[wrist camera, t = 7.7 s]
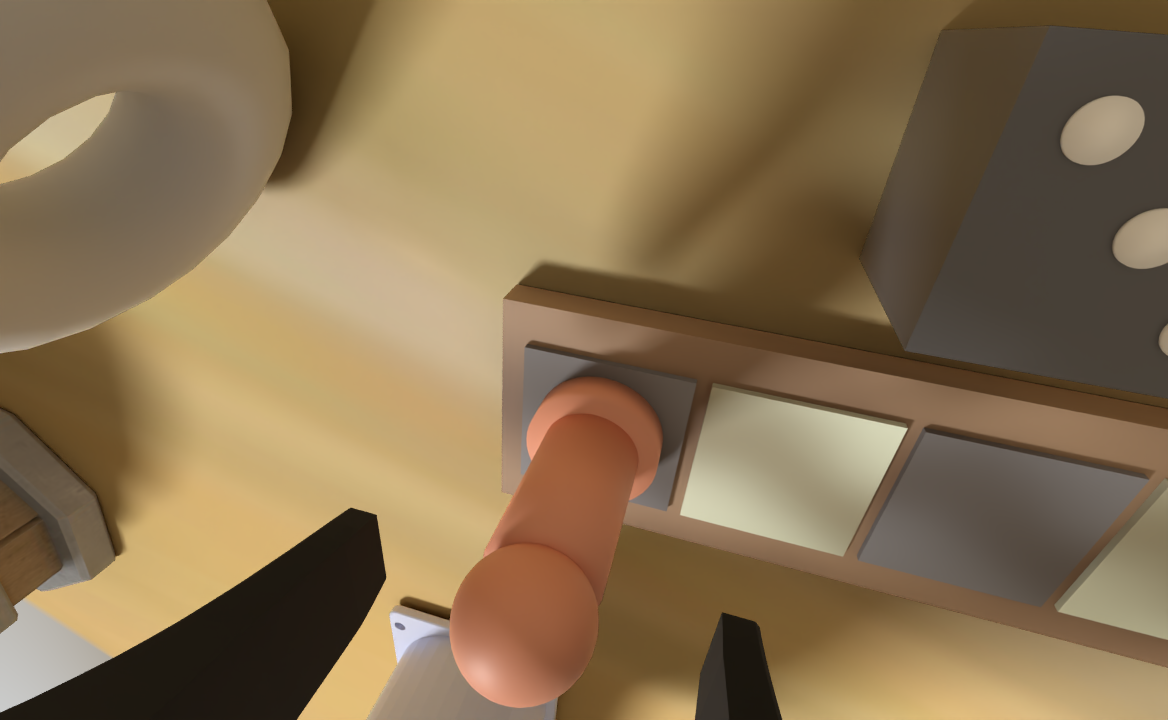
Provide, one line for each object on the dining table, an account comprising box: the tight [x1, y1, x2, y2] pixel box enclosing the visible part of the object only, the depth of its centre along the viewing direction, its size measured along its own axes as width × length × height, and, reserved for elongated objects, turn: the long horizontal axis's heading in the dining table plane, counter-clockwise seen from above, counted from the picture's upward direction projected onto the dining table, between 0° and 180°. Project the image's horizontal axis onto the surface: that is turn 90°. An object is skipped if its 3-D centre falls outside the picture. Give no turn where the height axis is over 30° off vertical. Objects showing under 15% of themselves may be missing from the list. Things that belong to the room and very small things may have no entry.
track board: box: [502, 284, 1168, 668], centre depth 15 cm, size 7×21×1 cm, turn 85°
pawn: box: [449, 376, 663, 708], centre depth 12 cm, size 4×4×7 cm
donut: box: [0, 0, 292, 353], centre depth 10 cm, size 10×4×10 cm, turn 141°
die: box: [859, 26, 1168, 399], centre depth 9 cm, size 4×5×5 cm
